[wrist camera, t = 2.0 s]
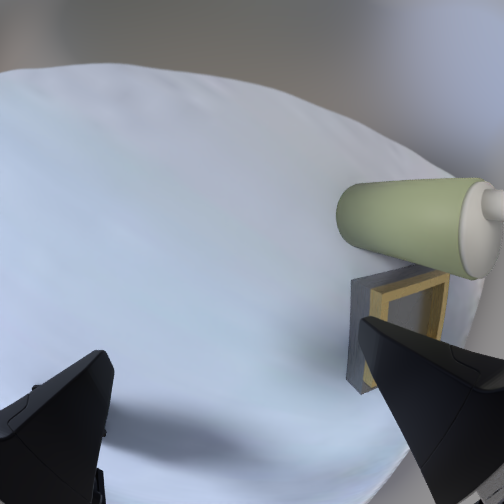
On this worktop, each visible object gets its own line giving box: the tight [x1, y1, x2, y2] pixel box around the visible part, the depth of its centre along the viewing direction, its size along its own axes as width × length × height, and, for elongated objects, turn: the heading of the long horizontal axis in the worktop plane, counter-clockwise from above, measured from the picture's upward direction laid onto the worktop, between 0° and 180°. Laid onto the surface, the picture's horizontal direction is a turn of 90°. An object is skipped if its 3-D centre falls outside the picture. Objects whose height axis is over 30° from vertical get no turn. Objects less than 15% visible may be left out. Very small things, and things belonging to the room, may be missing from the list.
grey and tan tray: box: [346, 264, 450, 395], centre depth 23 cm, size 11×11×4 cm
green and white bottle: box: [336, 178, 504, 280], centre depth 15 cm, size 6×6×15 cm
